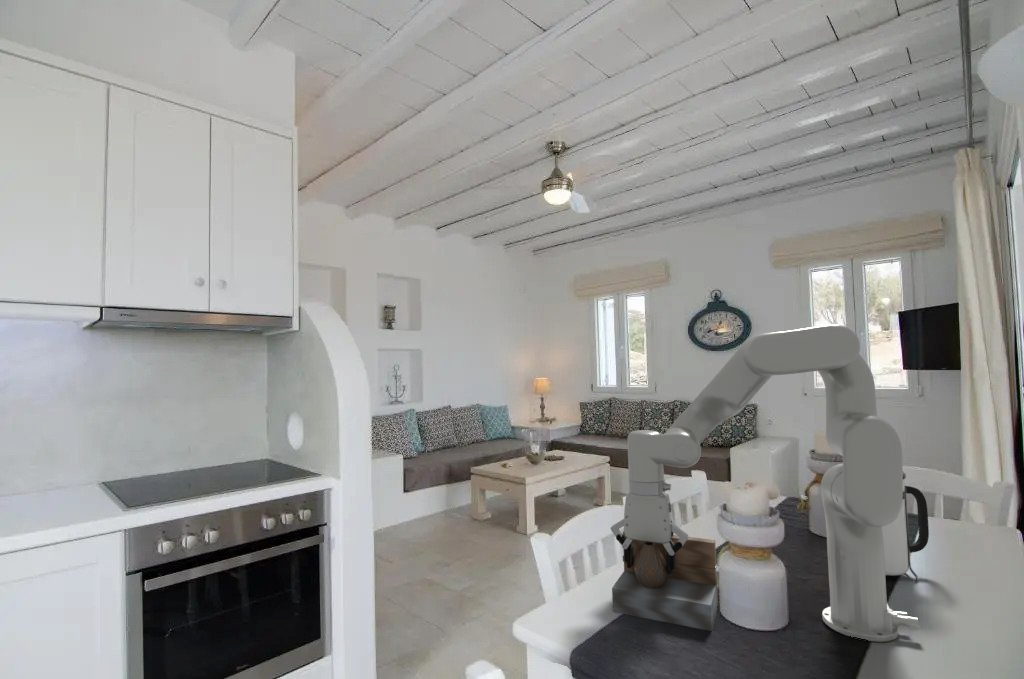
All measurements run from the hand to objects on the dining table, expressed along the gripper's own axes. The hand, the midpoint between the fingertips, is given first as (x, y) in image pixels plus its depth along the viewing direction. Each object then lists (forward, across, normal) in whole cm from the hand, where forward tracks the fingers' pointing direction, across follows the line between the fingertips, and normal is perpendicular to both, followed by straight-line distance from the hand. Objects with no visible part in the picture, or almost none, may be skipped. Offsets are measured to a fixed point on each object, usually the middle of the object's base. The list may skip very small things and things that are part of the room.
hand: (649, 568), depth 113 cm
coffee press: (+9, -48, -42) cm, 64 cm away
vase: (+4, 0, 0) cm, 4 cm away
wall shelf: (+8, -3, -1) cm, 9 cm away
